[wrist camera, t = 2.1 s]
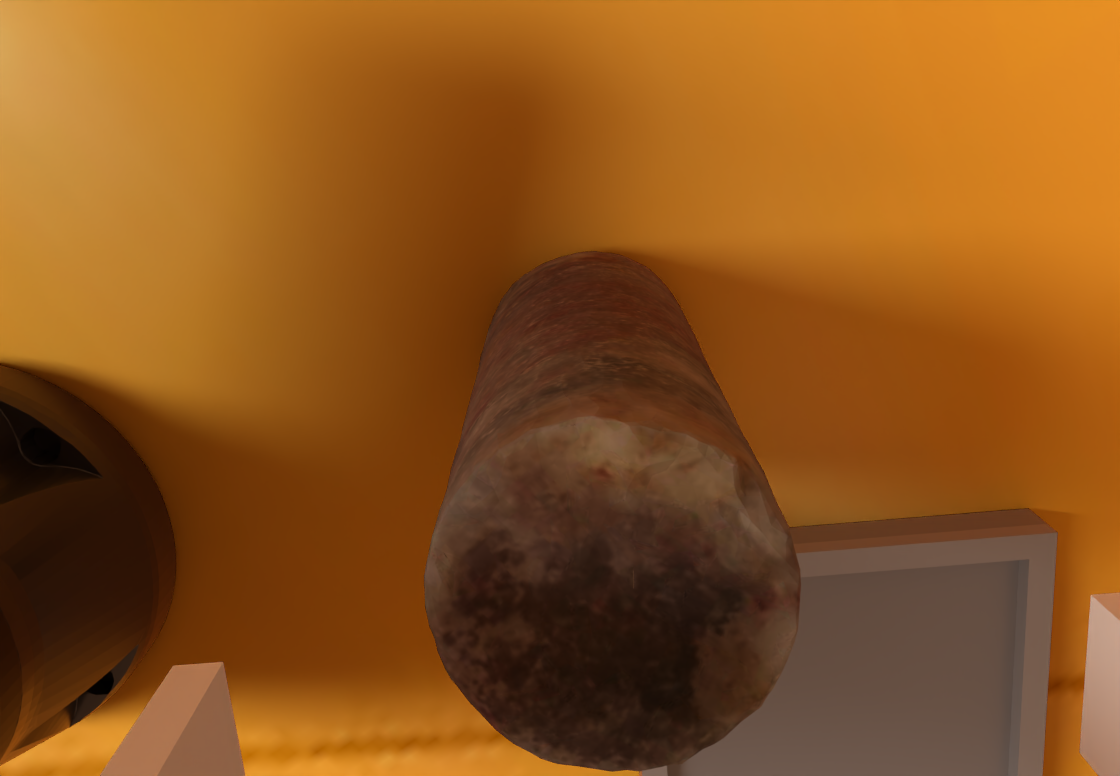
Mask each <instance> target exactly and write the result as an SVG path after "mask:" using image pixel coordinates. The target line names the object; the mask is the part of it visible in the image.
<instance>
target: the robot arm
mask: <svg viewBox="0 0 1120 776" xmlns="http://www.w3.org/2000/svg"><path fill="white" fill-rule="evenodd" d="M175 575H176V554H175V543H174V537H173V531H172V527H171V523H170V519H169V516H168V513H167V509H166V506H165V504H164V501H163V499H162V496H161V494H160V492H159V490H158V488H157V486H156V484H155V482H154V480H153V478H152V476H151V475H150V473H149V471H148V469H147V468H146V466H145V465H144V463H143V462H142V460H141V459H140V458H139V456H138V455H137V453H136V452H135V451H134V450H133V448H132V447H131V446H130V445H129V443H128V442H127V441H126V440H125V439H124V438H123V437H122V436H121V434H120V433H119V432H118V431H117V430H116V429H115V428H114V427H113V426H112V425H110V424H109V423H108V422H107V421H106V420H105V419H104V418H103V417H102V416H100V415H99V414H98V413H97V412H95V411H94V410H93V409H92V408H90V407H89V406H87V405H86V404H85V403H83V402H82V401H81V400H79V399H77V398H76V397H74V396H73V395H71V394H69V393H68V392H66V391H64V390H62V389H61V388H59V387H57V386H55V385H53V384H51V383H49V382H47V381H45V380H42V379H40V378H38V377H35V376H33V375H30V374H28V373H25V372H22V371H19V370H16V369H12V368H9V367H5V366H1V365H0V766H1V765H2V764H4V763H6V762H8V761H10V760H11V759H13V758H15V757H17V756H19V755H20V754H22V753H24V752H26V751H28V750H29V749H31V748H33V747H35V746H37V745H38V744H40V743H42V742H44V741H46V740H47V739H49V738H51V737H53V736H55V735H56V734H58V733H60V732H62V731H64V730H65V729H67V728H69V727H71V726H73V725H74V724H76V723H77V722H79V721H81V720H82V719H84V718H86V717H87V716H88V715H90V714H91V713H93V712H94V711H95V710H97V709H98V708H99V707H100V706H101V705H103V704H104V703H105V702H106V701H107V700H108V699H109V698H110V697H112V696H113V695H114V694H115V693H116V692H117V690H118V689H119V688H120V687H121V686H122V685H123V684H124V683H125V681H126V680H127V679H128V678H129V677H130V675H131V674H132V672H133V671H134V670H135V668H136V667H137V665H138V664H139V663H140V661H141V660H142V659H143V657H144V656H145V654H146V653H147V652H148V650H149V649H150V647H151V646H152V644H153V643H154V641H155V639H156V638H157V636H158V634H159V633H160V630H161V628H162V626H163V624H164V622H165V619H166V617H167V614H168V611H169V608H170V604H171V600H172V597H173V591H174V585H175ZM1080 754H1081V755H1082V756H1083V757H1084V759H1085V760H1086V761H1087V762H1088V763H1089V765H1090V766H1091V767H1092V768H1093V770H1094V771H1095V772H1096V773H1097V774H1098V776H1120V593H1107V594H1094V595H1091V600H1090V614H1089V628H1088V642H1087V655H1086V669H1085V683H1084V697H1083V711H1082V725H1081V738H1080ZM100 776H245V772H244V767H243V761H242V756H241V751H240V746H239V741H238V736H237V730H236V725H235V720H234V715H233V710H232V704H231V699H230V694H229V689H228V684H227V679H226V673H225V668H224V663H223V662H213V663H200V664H187V665H174V666H172V668H171V669H170V671H169V672H168V674H167V675H166V677H165V678H164V680H163V681H162V683H161V684H160V686H159V688H158V689H157V691H156V692H155V694H154V695H153V697H152V698H151V700H150V701H149V703H148V704H147V706H146V707H145V709H144V710H143V712H142V713H141V715H140V716H139V718H138V719H137V721H136V722H135V724H134V725H133V727H132V728H131V730H130V731H129V733H128V734H127V736H126V737H125V739H124V740H123V742H122V743H121V745H120V746H119V748H118V749H117V751H116V752H115V754H114V755H113V757H112V758H111V760H110V761H109V763H108V764H107V766H106V767H105V769H104V770H103V772H102V773H101V775H100Z"/></svg>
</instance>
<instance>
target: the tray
mask: <svg viewBox="0 0 1120 776" xmlns="http://www.w3.org/2000/svg"><path fill="white" fill-rule="evenodd" d="M790 532H791V536H792V541H793V545H794V548H795V552H796V556H797V559H798V563H799V567H800V574H801V593H800V610H799V622H798V630H797V634H796V638H795V642H794V645H793V647H792V650H791V652H790V655H789V657H788V660H787V662H786V664H785V667H784V669H783V671H782V673H781V675H780V677H779V679H778V680H777V682H776V684H775V686H774V688H773V690H772V691H771V692H770V693H769V694H768V696H767V697H766V699H765V701H764V703H763V705H762V706H761V707H760V708H759V709H758V710H756V711H755V712H754V713H752V714H751V715H750V716H748V717H747V718H745V719H744V720H743V721H742V722H740V723H739V724H738V725H737V726H736V727H735V728H734V729H733V730H732V731H731V732H730V733H729V734H728V735H726V736H725V737H724V738H723V739H721V740H720V741H718V742H717V743H715V744H713V745H711V746H709V747H707V748H704V749H702V750H701V751H699V752H698V753H697V754H695V755H694V756H692V757H691V758H689V759H688V760H687V761H685V762H684V763H683V764H679V765H668V766H663V767H658V768H654V769H649V770H644V771H639V776H1043V759H1044V743H1045V727H1046V711H1047V695H1048V679H1049V663H1050V647H1051V631H1052V614H1053V598H1054V582H1055V566H1056V550H1057V534H1058V532H1056V531H1055V530H1054V529H1053V528H1052V527H1050V526H1049V525H1048V524H1047V523H1046V522H1044V521H1043V520H1042V519H1041V518H1040V517H1038V516H1037V515H1036V514H1035V513H1034V512H1032V511H1031V510H1030V509H1029V508H1028V509H1016V510H1003V511H991V512H978V513H966V514H953V515H941V516H928V517H916V518H903V519H891V520H878V521H866V522H853V523H841V524H828V525H816V526H803V527H791V528H790Z"/></svg>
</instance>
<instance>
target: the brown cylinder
mask: <svg viewBox="0 0 1120 776" xmlns="http://www.w3.org/2000/svg"><path fill="white" fill-rule="evenodd" d="M424 586H425V608H426V613H427V617H428V622H429V626H430V628H431V631H432V633H433V636H434V638H435V642H436V646H437V650H438V653H439V655H440V658H441V660H442V662H443V665H444V667H445V669H446V671H447V673H448V674H449V676H450V678H451V679H452V681H453V682H454V683H455V684H456V685H457V686H458V688H459V689H460V690H461V692H462V693H463V694H464V696H465V697H466V698H467V699H468V701H469V702H470V703H471V704H472V705H473V706H474V707H475V708H476V709H477V710H478V711H479V712H480V713H481V714H482V716H483V717H484V718H485V719H486V720H487V721H488V722H489V723H490V724H491V725H492V726H493V727H494V728H495V729H496V730H497V731H498V732H499V733H500V734H502V735H503V736H504V737H506V738H507V739H508V740H510V741H511V742H512V743H513V744H515V745H517V746H519V747H521V748H523V749H525V750H527V751H529V752H531V753H532V754H534V755H536V756H538V757H539V758H541V759H544V760H547V761H550V762H554V763H557V764H563V765H572V766H580V767H587V768H593V769H599V770H606V771H612V772H613V771H621V770H632V771H644V770H649V769H654V768H658V767H663V766H668V765H679V764H683V763H684V762H685V761H687V760H688V759H689V758H691V757H692V756H694V755H695V754H697V753H698V752H699V751H701V750H702V749H704V748H707V747H709V746H711V745H713V744H715V743H717V742H718V741H720V740H721V739H723V738H724V737H725V736H726V735H728V734H729V733H730V732H731V731H732V730H733V729H734V728H735V727H736V726H737V725H738V724H739V723H740V722H742V721H743V720H744V719H745V718H747V717H748V716H750V715H751V714H752V713H754V712H755V711H756V710H758V709H759V708H760V707H761V706H762V705H763V703H764V701H765V699H766V697H767V696H768V694H769V693H770V692H771V691H772V690H773V688H774V686H775V684H776V682H777V680H778V679H779V677H780V675H781V673H782V671H783V669H784V667H785V664H786V662H787V660H788V657H789V655H790V652H791V650H792V647H793V645H794V642H795V638H796V634H797V630H798V622H799V610H800V593H801V574H800V567H799V563H798V559H797V556H796V552H795V548H794V545H793V541H792V536H791V532H790V528H789V526H788V524H787V522H786V520H785V518H784V516H783V514H782V512H781V510H780V509H779V507H778V504H777V502H776V500H775V498H774V495H773V493H772V490H771V488H770V486H769V483H768V481H767V478H766V476H765V473H764V471H763V469H762V468H761V466H760V465H759V463H758V461H757V459H756V457H755V455H754V453H753V452H752V450H751V448H750V446H749V444H748V442H747V440H746V439H745V437H744V436H743V434H742V432H741V430H740V428H739V426H738V424H737V421H736V419H735V417H734V415H733V413H732V411H731V409H730V407H729V405H728V403H727V401H726V399H725V397H724V395H723V393H722V391H721V389H720V387H719V385H718V383H717V382H716V380H715V378H714V376H713V374H712V372H711V370H710V368H709V366H708V364H707V362H706V360H705V358H704V356H703V354H702V351H701V349H700V347H699V344H698V342H697V339H696V337H695V335H694V333H693V331H692V329H691V327H690V325H689V324H688V322H687V320H686V318H685V316H684V314H683V312H682V310H681V308H680V306H679V304H678V303H677V301H676V299H675V298H674V296H673V295H672V293H671V292H670V290H669V289H668V288H667V287H666V285H665V284H664V283H663V282H662V281H661V280H660V279H659V278H658V277H657V276H656V275H655V274H654V273H653V272H652V271H651V270H650V269H648V268H647V267H646V266H644V265H642V264H640V263H637V262H635V261H633V260H631V259H629V258H627V257H624V256H622V255H618V254H613V253H602V252H596V251H591V252H580V253H575V254H571V255H567V256H563V257H559V258H557V259H554V260H551V261H549V262H546V263H544V264H541V265H540V266H538V267H536V268H535V269H533V270H532V271H530V272H528V273H527V274H525V275H523V276H522V277H521V278H520V279H519V280H517V281H516V282H515V283H514V284H513V285H512V286H511V287H510V289H509V290H508V292H507V293H506V294H505V295H504V296H503V298H502V300H501V301H500V303H499V306H498V308H497V310H496V312H495V314H494V316H493V319H492V322H491V324H490V327H489V330H488V334H487V337H486V341H485V345H484V348H483V351H482V354H481V358H480V363H479V368H478V372H477V376H476V380H475V384H474V388H473V391H472V394H471V398H470V402H469V405H468V410H467V413H466V417H465V421H464V425H463V429H462V435H461V439H460V442H459V445H458V448H457V451H456V455H455V458H454V461H453V464H452V468H451V472H450V477H449V482H448V487H447V491H446V494H445V497H444V500H443V503H442V505H441V508H440V510H439V514H438V518H437V521H436V525H435V529H434V532H433V535H432V540H431V545H430V549H429V554H428V559H427V564H426V569H425V575H424Z"/></svg>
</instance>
